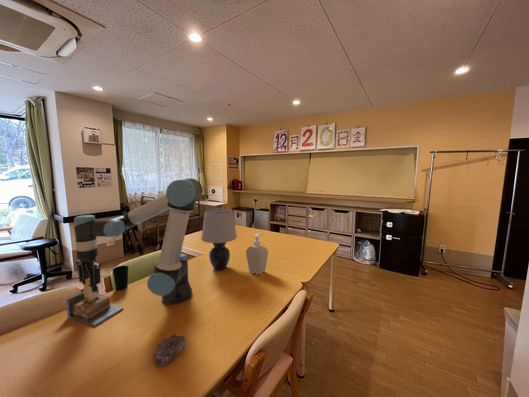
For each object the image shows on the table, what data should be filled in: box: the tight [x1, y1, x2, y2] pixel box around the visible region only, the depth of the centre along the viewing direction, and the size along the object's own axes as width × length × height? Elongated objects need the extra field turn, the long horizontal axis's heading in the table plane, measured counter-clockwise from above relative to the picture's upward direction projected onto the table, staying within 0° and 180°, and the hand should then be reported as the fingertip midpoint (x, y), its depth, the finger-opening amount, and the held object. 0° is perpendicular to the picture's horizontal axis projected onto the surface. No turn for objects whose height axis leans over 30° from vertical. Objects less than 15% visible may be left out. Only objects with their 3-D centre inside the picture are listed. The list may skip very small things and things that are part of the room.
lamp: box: [200, 209, 238, 272], centre depth 152 cm, size 24×24×40 cm
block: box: [73, 293, 111, 319], centre depth 104 cm, size 10×10×5 cm
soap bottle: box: [245, 233, 269, 275], centre depth 148 cm, size 12×10×26 cm
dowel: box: [85, 278, 96, 304], centre depth 104 cm, size 3×3×14 cm
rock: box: [152, 333, 187, 368], centre depth 80 cm, size 8×11×5 cm
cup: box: [111, 265, 129, 291], centre depth 126 cm, size 8×8×12 cm
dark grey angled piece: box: [65, 285, 124, 328], centre depth 103 cm, size 18×13×9 cm
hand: (91, 297), depth 104 cm, fingers closed on dowel, 3 cm apart
